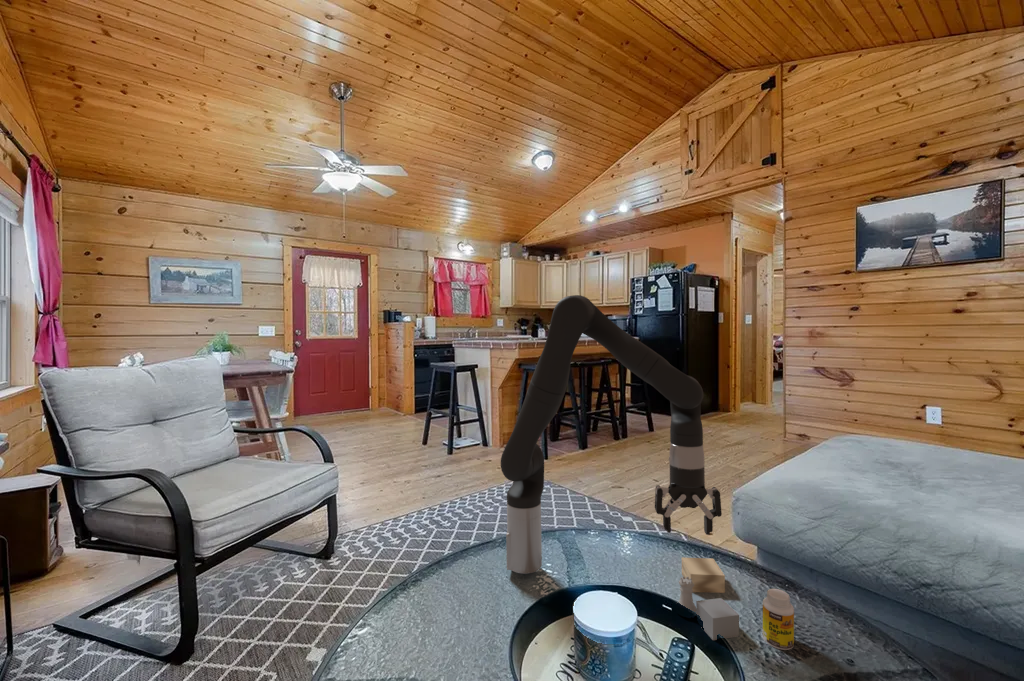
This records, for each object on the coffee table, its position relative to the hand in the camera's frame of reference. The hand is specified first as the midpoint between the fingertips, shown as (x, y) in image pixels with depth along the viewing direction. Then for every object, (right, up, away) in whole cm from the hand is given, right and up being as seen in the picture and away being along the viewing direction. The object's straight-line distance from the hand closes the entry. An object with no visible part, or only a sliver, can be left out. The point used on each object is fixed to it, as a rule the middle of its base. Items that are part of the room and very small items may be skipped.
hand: (687, 532), depth 103 cm
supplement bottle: (+14, -18, -12) cm, 26 cm away
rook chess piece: (-1, -18, -2) cm, 18 cm away
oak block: (+7, -18, +9) cm, 21 cm away
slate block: (+3, -18, -7) cm, 20 cm away
